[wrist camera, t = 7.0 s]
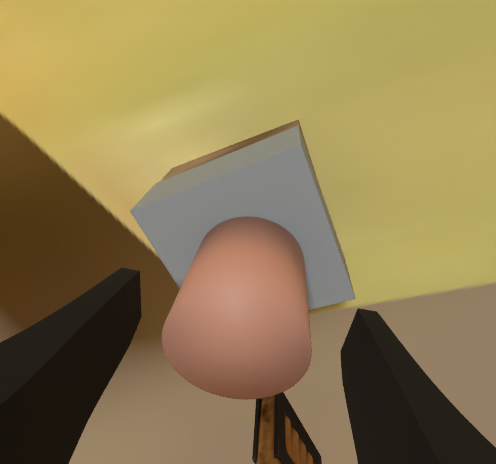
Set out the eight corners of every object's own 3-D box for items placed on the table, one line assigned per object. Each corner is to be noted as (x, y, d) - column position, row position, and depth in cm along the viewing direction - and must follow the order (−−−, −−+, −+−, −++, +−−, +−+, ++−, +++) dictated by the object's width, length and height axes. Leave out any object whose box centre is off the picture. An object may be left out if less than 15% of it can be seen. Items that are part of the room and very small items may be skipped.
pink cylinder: (283, 201, 12) (281, 273, 8) (318, 292, 14) (330, 387, 10) (179, 235, 13) (134, 312, 9) (223, 315, 15) (201, 408, 11)
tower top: (298, 125, 14) (300, 144, 11) (344, 258, 17) (355, 298, 14) (156, 183, 16) (130, 210, 13) (220, 293, 19) (209, 334, 16)
